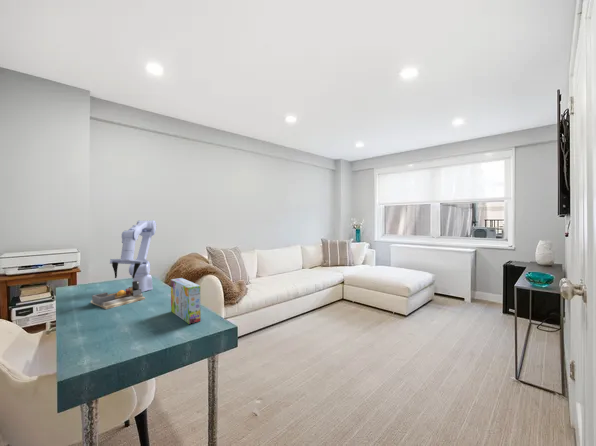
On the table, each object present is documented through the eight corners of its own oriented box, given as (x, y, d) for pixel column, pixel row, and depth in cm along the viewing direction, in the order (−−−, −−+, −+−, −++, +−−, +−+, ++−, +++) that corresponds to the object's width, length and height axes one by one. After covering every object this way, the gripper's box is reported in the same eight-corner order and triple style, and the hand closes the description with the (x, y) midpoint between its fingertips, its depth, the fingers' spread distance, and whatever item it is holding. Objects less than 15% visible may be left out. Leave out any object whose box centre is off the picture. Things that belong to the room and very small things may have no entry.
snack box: (202, 321, 116) (201, 285, 115) (188, 325, 112) (187, 287, 112) (182, 308, 132) (181, 276, 131) (170, 311, 128) (169, 279, 127)
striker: (131, 293, 153) (131, 278, 153) (141, 296, 147) (140, 281, 147) (123, 295, 150) (123, 280, 149) (133, 298, 144) (132, 282, 143)
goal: (107, 298, 145) (106, 292, 145) (114, 301, 140) (114, 295, 140) (92, 302, 140) (92, 295, 140) (100, 305, 135) (99, 298, 135)
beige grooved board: (128, 293, 157) (128, 288, 157) (145, 299, 147) (144, 293, 147) (90, 302, 142) (90, 296, 142) (106, 309, 132) (106, 303, 132)
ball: (123, 296, 150) (123, 288, 149) (127, 297, 147) (127, 289, 147) (115, 298, 146) (115, 290, 146) (119, 299, 144) (118, 291, 144)
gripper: (111, 249, 141) (107, 276, 136) (144, 251, 149) (141, 276, 144) (111, 252, 146) (107, 278, 142) (142, 254, 154) (140, 279, 150)
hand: (124, 277), depth 143 cm, fingers open, 7 cm apart
